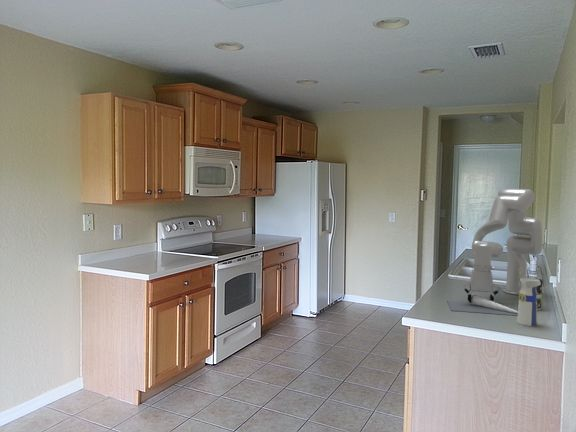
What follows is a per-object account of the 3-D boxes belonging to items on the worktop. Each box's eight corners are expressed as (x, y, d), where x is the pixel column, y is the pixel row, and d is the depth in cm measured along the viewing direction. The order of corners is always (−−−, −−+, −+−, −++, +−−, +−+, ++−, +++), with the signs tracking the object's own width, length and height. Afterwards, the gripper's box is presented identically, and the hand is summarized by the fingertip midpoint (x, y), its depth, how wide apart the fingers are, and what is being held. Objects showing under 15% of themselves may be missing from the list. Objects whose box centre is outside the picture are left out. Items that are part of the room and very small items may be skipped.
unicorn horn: (517, 316, 208) (518, 305, 208) (469, 304, 227) (470, 295, 227) (523, 314, 211) (523, 304, 211) (474, 303, 230) (475, 293, 230)
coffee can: (539, 306, 227) (541, 278, 226) (542, 311, 218) (544, 282, 217) (516, 303, 231) (518, 276, 230) (518, 309, 222) (520, 280, 221)
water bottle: (528, 327, 194) (531, 268, 192) (511, 321, 202) (514, 265, 200) (542, 325, 197) (545, 267, 195) (525, 319, 205) (528, 263, 203)
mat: (511, 305, 227) (511, 305, 227) (520, 316, 210) (520, 315, 210) (447, 301, 234) (447, 300, 234) (451, 310, 217) (451, 310, 217)
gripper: (499, 268, 226) (497, 302, 227) (462, 266, 230) (460, 299, 231) (502, 271, 219) (501, 306, 220) (464, 268, 223) (462, 303, 224)
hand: (480, 303), depth 226 cm, fingers open, 9 cm apart
